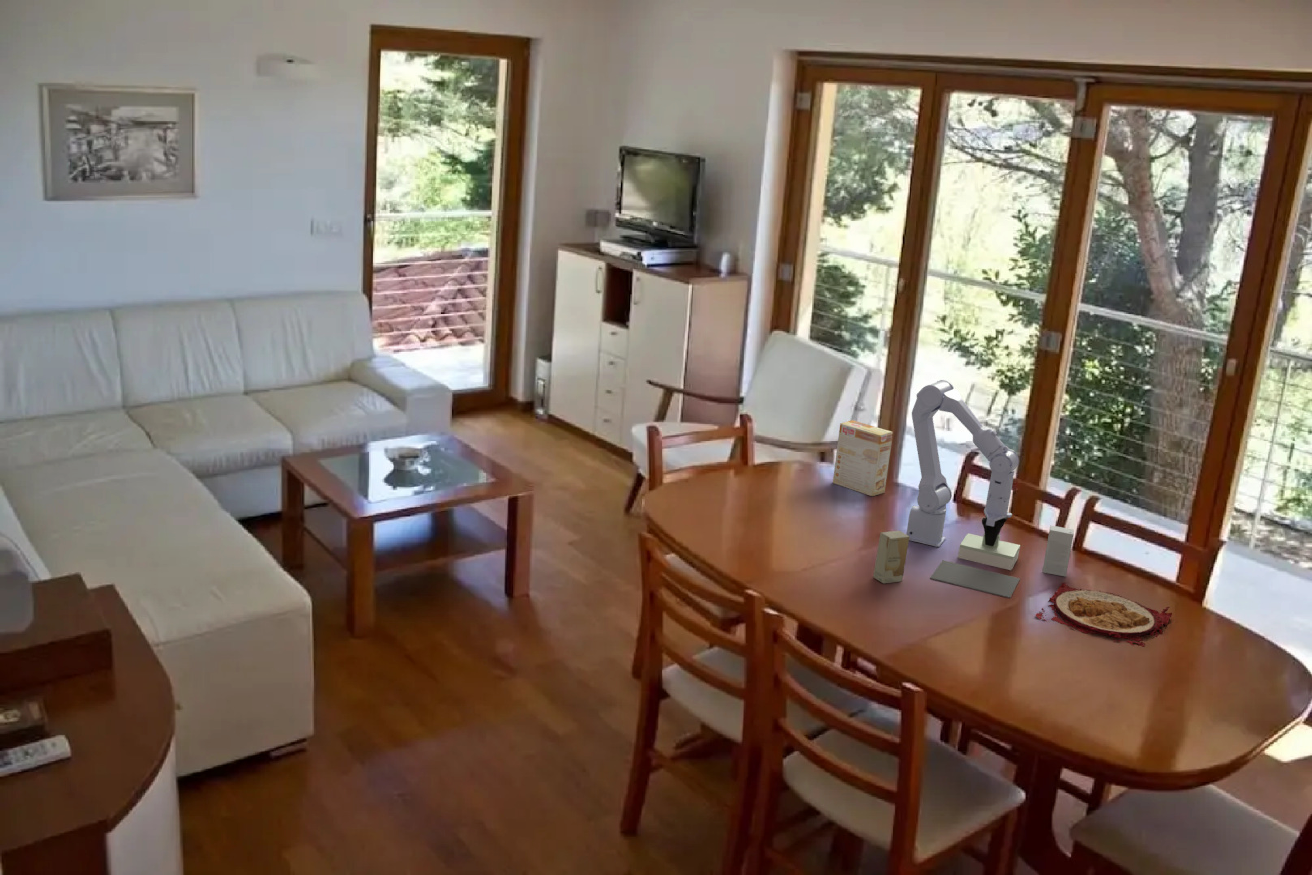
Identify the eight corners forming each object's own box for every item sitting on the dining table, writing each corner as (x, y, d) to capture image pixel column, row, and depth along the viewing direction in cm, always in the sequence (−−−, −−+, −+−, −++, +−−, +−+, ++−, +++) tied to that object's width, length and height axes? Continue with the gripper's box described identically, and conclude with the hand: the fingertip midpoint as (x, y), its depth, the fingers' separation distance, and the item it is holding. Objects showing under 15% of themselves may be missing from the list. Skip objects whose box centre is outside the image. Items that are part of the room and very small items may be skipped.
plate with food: (1061, 589, 309) (1063, 576, 307) (1171, 618, 295) (1173, 605, 294) (1032, 622, 289) (1035, 608, 288) (1148, 655, 275) (1151, 640, 274)
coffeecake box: (885, 492, 369) (894, 431, 363) (872, 497, 364) (880, 435, 358) (845, 479, 378) (853, 419, 373) (831, 483, 373) (839, 422, 368)
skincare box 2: (1066, 571, 318) (1074, 529, 315) (1065, 577, 315) (1074, 534, 311) (1042, 566, 320) (1050, 524, 317) (1041, 572, 316) (1049, 529, 313)
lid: (959, 550, 321) (961, 533, 320) (966, 538, 330) (969, 522, 328) (1012, 562, 315) (1015, 546, 314) (1019, 550, 324) (1022, 534, 323)
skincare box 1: (883, 584, 300) (889, 538, 297) (872, 577, 304) (879, 532, 300) (903, 581, 303) (910, 535, 300) (892, 574, 307) (899, 529, 303)
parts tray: (957, 557, 322) (959, 547, 321) (965, 546, 330) (967, 536, 329) (1011, 570, 316) (1013, 559, 315) (1017, 558, 325) (1019, 547, 324)
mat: (930, 578, 306) (930, 577, 306) (942, 561, 318) (942, 560, 318) (1010, 598, 298) (1010, 597, 298) (1019, 579, 310) (1019, 578, 310)
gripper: (1009, 506, 310) (1000, 555, 314) (1019, 491, 323) (1010, 538, 327) (981, 500, 313) (973, 549, 317) (992, 485, 326) (984, 532, 329)
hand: (990, 543), depth 322 cm, fingers closed on lid, 2 cm apart
